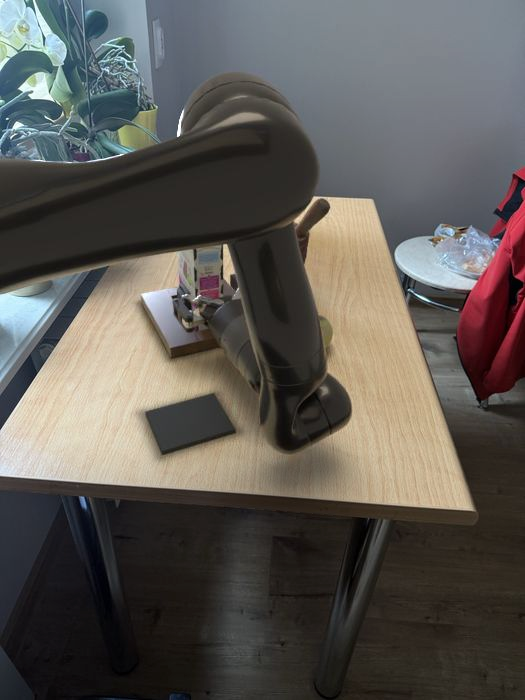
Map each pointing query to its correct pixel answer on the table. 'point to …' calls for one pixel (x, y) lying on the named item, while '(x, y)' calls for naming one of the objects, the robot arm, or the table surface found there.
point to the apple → (326, 330)
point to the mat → (189, 423)
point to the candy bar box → (202, 273)
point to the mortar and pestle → (310, 223)
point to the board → (177, 323)
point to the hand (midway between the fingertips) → (207, 284)
